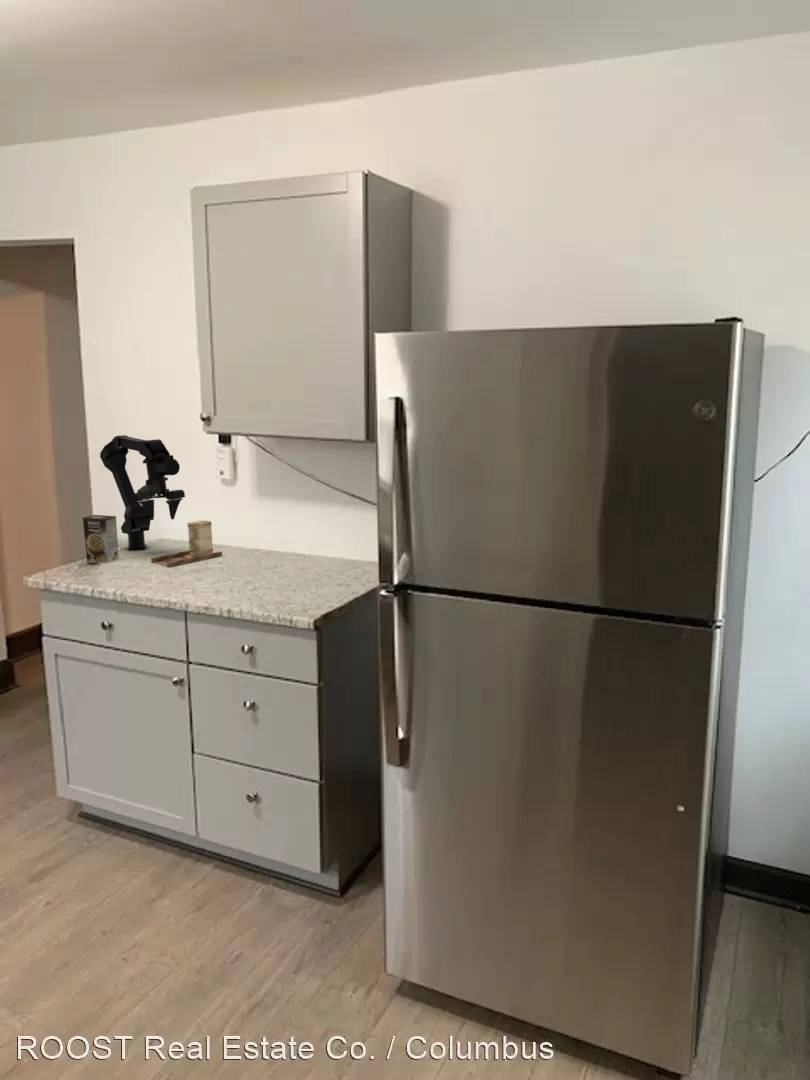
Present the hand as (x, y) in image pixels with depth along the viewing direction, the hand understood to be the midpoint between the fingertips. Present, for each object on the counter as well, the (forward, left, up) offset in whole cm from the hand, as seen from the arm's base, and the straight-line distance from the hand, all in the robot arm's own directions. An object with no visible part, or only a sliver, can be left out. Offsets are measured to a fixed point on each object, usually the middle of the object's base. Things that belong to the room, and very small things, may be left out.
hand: (162, 519), depth 296 cm
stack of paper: (+11, +13, -11) cm, 21 cm away
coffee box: (+7, -20, -13) cm, 25 cm away
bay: (+14, +9, -13) cm, 21 cm away
